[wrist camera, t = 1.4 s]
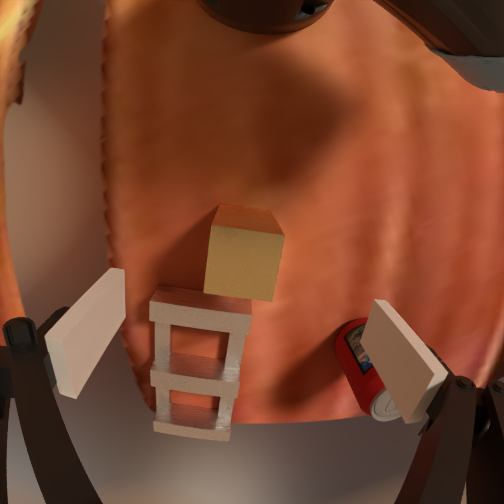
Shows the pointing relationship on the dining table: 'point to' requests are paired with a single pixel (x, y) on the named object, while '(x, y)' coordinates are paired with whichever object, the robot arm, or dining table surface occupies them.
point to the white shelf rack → (196, 360)
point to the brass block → (243, 253)
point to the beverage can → (364, 373)
